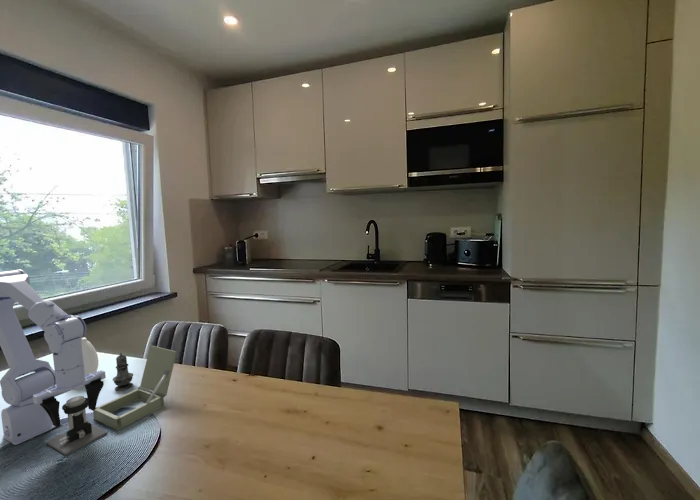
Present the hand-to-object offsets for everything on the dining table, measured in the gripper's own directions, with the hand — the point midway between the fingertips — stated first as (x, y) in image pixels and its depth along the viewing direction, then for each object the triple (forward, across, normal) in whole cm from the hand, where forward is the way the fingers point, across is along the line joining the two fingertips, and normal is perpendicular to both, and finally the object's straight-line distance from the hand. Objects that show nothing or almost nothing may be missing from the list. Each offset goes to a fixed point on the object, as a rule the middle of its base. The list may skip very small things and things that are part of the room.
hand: (75, 416), depth 85 cm
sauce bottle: (+6, +18, +36) cm, 41 cm away
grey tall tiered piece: (+6, +21, +18) cm, 28 cm away
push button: (+6, 0, 0) cm, 6 cm away
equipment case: (+6, +16, 0) cm, 17 cm away
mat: (+6, 0, 0) cm, 6 cm away
